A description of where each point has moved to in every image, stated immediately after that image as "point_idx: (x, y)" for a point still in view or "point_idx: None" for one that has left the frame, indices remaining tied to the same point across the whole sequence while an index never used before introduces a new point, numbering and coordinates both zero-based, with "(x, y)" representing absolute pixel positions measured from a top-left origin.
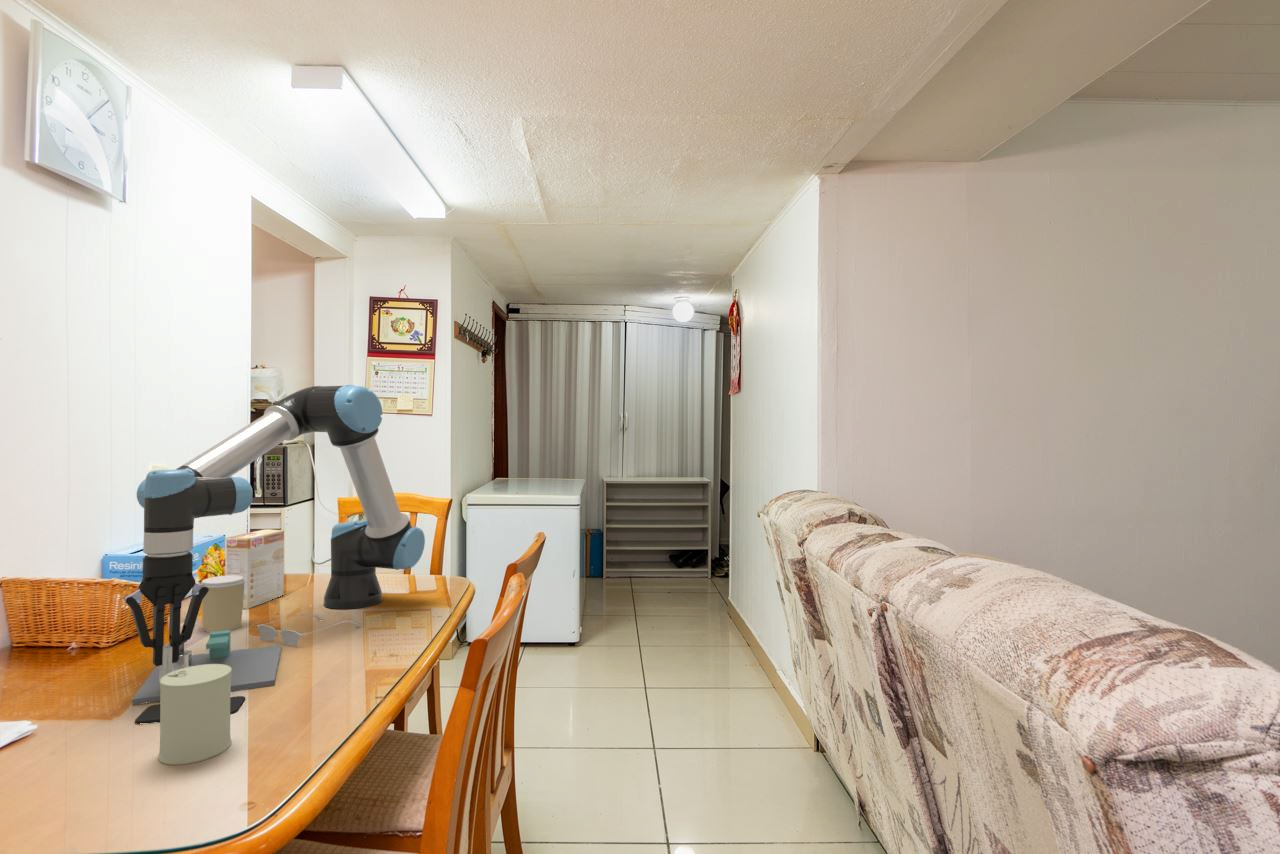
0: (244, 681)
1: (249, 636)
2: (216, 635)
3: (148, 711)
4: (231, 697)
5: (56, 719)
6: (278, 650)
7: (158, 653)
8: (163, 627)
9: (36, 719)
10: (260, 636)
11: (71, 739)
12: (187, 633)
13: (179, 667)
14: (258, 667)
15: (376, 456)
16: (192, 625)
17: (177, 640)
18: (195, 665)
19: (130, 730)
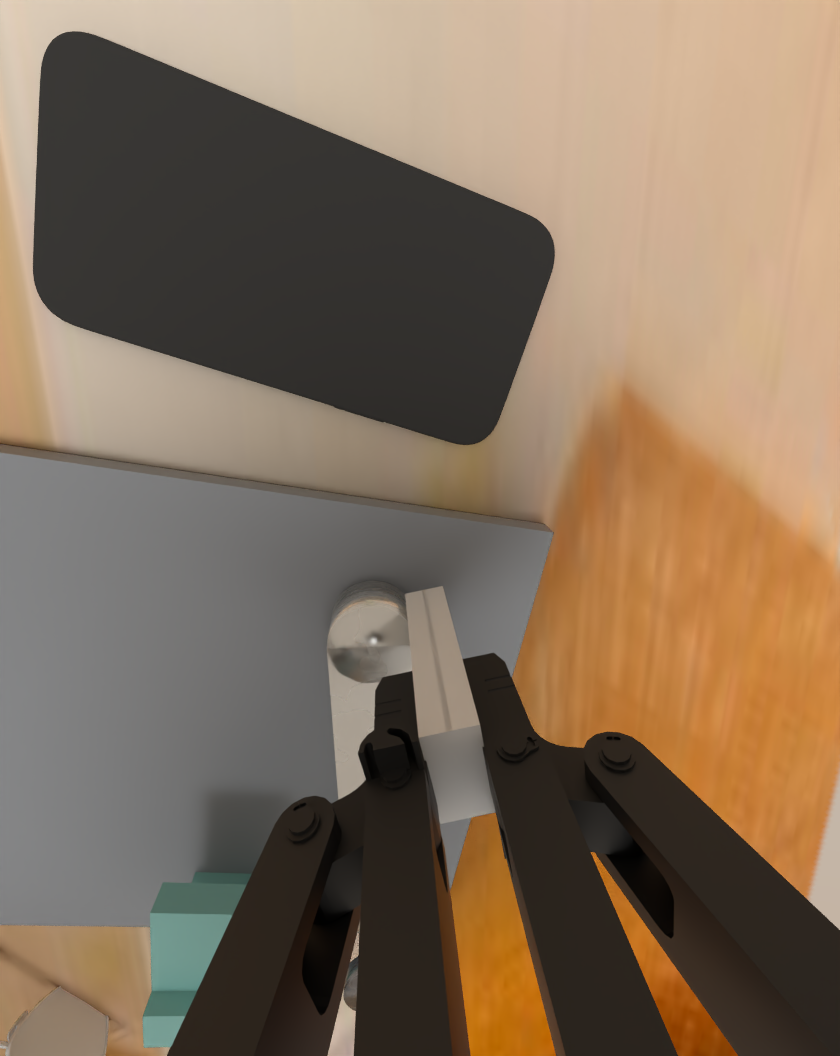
0: (63, 504)
1: (160, 1051)
2: None
3: (495, 354)
4: (114, 326)
5: (779, 518)
6: None
7: (501, 711)
8: (541, 943)
9: (825, 557)
10: (106, 1034)
11: (785, 210)
12: (297, 860)
13: (373, 730)
14: (28, 682)
15: None
16: (230, 965)
17: (383, 790)
18: None
19: (573, 151)
